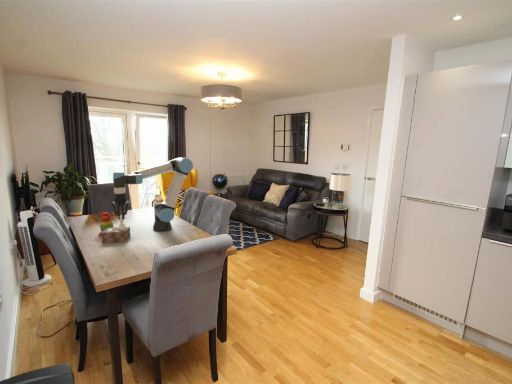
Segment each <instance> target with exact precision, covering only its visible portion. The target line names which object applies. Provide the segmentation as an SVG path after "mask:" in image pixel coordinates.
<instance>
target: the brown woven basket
mask: <svg viewBox="0 0 512 384" xmlns="http://www.w3.org/2000/svg"><path fill="white" fill-rule="evenodd" d="M108 229H113V230H112V231H107V230H108ZM100 232H101V231H100ZM101 235H102V236H101V244H110V243H111V244H114V243H116V244H117V243H126V242H127V241H128V240H129V239H130V238H131V226H125V230H120V229H119V226H117V227H116V226H115V227H114V226H113V227H109V228H106V229H105V230H104V231H103V232H101Z"/></svg>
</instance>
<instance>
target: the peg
mask: <svg viewBox="0 0 512 384" xmlns="http://www.w3.org/2000/svg"><path fill="white" fill-rule="evenodd" d="M118 225H119V226H118V227H119V229H120V230H125V227H126V223H124V222H123V224H120V223H119V224H118Z"/></svg>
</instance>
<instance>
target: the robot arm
mask: <svg viewBox="0 0 512 384" xmlns="http://www.w3.org/2000/svg"><path fill="white" fill-rule="evenodd" d="M193 168H194V164H193V161H192V160H191V159H190V158H188V157H183V156H182V157H181V156H180V157H176V158H174V159H171V160H168V161H167V162H164V163H162V164H158V165H157V164H156V165H154V166H150V167H147V168H142V169H139V170H136V171H131V172H128V173H127V174H125V172H124V171H114V172H113V173H112V179H113V181H112V182H113V193H114V195H113V196H114V199H113V201H112V202H110V205H112V208H113V210H114V214H115V216H118V221H119V224H123V223H124V220H125V216H126V215H128V212H129V206H130V204H131V201H129V200H127V194H126V185H141V184H143V180H145V179H148V178H152V177H154V176H158V175H161V174H165V173H166V174H167V173H169V172H172V173H174V175H173V177H172V180H171V183H170V185H169V188H168V190H167V193H166V196H165V198H164V201H163V202H156V203H154V204H153V205H154V206H153V207H154V208H153V209H154V221H153V226H152V230H153V231H155V232H166V231H169V230H171V229H172V228H173V227H172V223H171V221H173V219H174V218H175V210H176V208H177V207H176V202H177V200H178V197H179V195H180V192H181V189H182V186H183V184H184V182H185V179H186V178H187V177H188V176H189V174H190V172H191V171H192V170H193ZM125 204H126V205H125Z"/></svg>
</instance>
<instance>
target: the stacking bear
mask: <svg viewBox="0 0 512 384" xmlns="http://www.w3.org/2000/svg"><path fill="white" fill-rule="evenodd" d="M100 218H101V220H100V223H99V229H100V232H99V233H98V237H102V235H101V232H103V231H104V230H105V229H106V228H109V227H114V223H113V220H112V219H111V212H109V211H107V212H106V211H105V212H101V213H100Z"/></svg>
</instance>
